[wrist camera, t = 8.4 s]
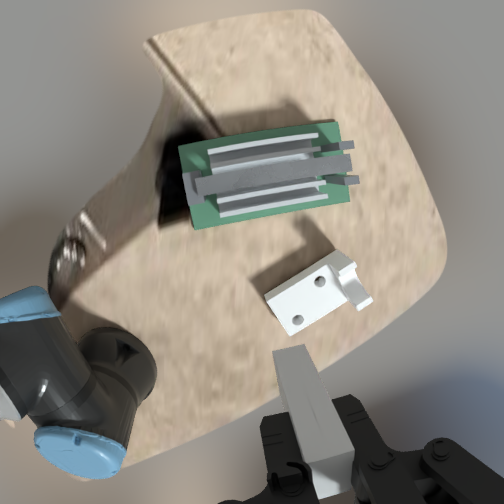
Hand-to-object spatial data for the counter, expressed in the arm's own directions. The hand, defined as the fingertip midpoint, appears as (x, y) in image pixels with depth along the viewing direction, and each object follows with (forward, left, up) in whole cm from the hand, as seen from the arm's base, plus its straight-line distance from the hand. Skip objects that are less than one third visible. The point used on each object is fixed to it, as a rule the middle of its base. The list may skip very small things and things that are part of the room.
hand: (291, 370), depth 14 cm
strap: (+5, +8, -26) cm, 28 cm away
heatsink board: (+5, +8, -32) cm, 34 cm away
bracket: (+9, -10, -33) cm, 36 cm away
